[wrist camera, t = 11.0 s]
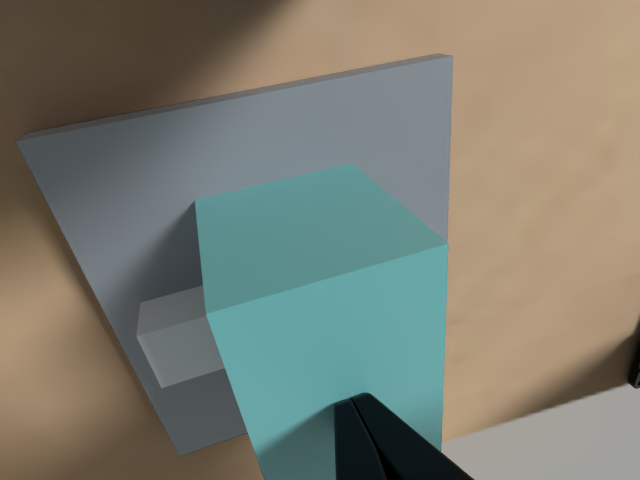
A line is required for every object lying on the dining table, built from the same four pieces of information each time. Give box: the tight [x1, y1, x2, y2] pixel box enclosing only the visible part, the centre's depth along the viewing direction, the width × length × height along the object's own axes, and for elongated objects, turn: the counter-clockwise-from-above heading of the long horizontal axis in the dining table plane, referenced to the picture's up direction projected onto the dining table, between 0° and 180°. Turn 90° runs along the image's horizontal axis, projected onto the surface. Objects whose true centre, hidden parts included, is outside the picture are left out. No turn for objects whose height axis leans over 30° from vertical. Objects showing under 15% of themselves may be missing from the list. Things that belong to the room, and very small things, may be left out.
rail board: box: [15, 54, 453, 457], centre depth 13 cm, size 11×12×2 cm
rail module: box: [195, 163, 448, 480], centre depth 11 cm, size 4×7×5 cm, turn 8°
